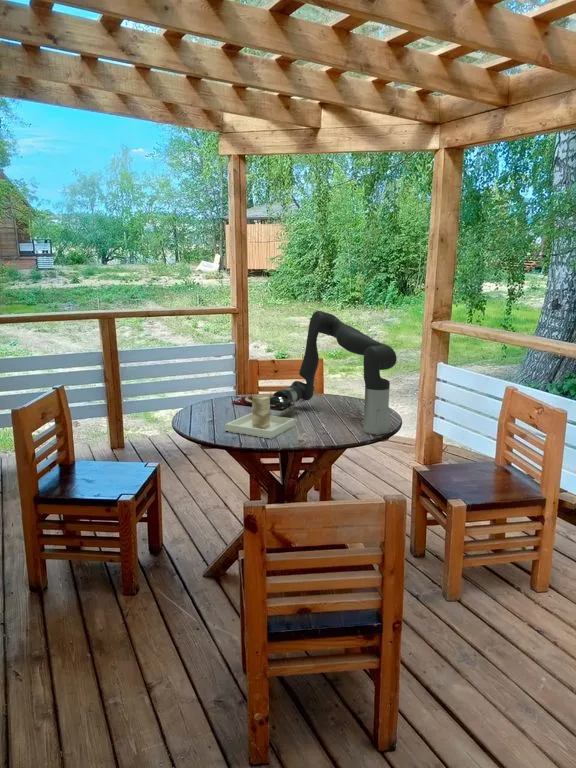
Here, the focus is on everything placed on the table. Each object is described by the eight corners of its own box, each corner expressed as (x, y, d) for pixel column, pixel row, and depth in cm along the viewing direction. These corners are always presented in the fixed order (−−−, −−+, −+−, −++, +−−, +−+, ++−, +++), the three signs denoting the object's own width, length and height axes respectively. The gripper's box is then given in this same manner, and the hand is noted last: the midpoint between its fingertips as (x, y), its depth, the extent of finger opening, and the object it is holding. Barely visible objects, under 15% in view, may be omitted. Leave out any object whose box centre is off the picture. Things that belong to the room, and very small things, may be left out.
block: (269, 426, 216) (269, 396, 213) (263, 429, 211) (263, 399, 209) (258, 425, 218) (258, 395, 216) (252, 428, 214) (252, 398, 211)
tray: (295, 426, 219) (295, 418, 218) (271, 439, 202) (271, 431, 201) (252, 419, 228) (251, 412, 227) (225, 431, 211) (225, 424, 210)
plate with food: (281, 412, 243) (281, 405, 242) (231, 404, 255) (231, 396, 254) (305, 402, 265) (306, 395, 264) (258, 395, 276) (258, 388, 276)
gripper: (270, 387, 233) (250, 394, 219) (300, 390, 227) (282, 398, 213) (270, 404, 235) (250, 413, 221) (300, 408, 229) (282, 417, 214)
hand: (266, 405), depth 217 cm, fingers open, 8 cm apart
